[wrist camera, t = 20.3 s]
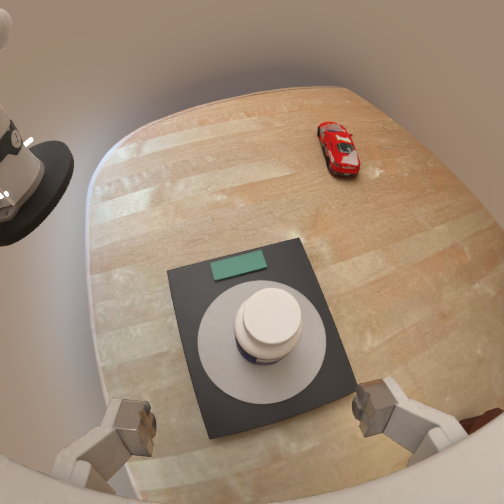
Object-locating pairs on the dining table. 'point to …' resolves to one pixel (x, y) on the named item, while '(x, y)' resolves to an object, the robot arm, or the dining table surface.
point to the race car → (338, 149)
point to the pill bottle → (268, 326)
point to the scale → (226, 352)
